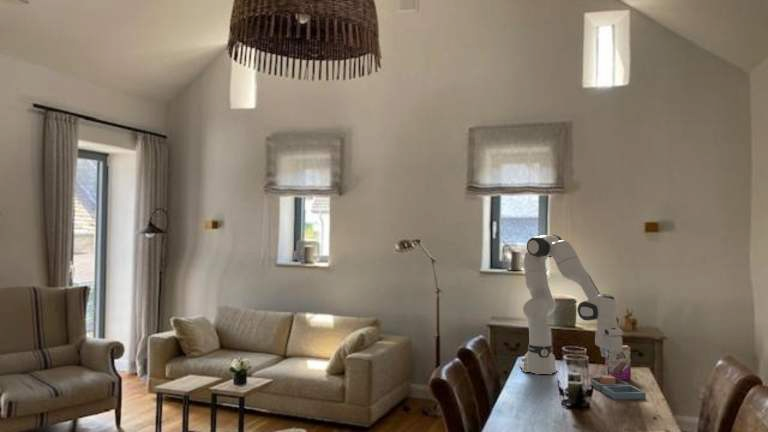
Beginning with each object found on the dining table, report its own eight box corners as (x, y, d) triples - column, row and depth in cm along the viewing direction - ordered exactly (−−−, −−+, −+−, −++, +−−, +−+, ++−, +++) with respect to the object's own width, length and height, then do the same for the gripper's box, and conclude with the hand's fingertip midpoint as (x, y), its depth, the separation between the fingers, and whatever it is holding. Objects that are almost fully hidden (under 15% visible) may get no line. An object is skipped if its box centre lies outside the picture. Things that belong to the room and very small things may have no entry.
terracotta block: (600, 386, 275) (600, 375, 275) (610, 385, 275) (610, 375, 275) (605, 389, 270) (605, 378, 270) (615, 388, 270) (615, 377, 270)
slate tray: (602, 392, 264) (601, 386, 264) (631, 391, 265) (631, 385, 265) (614, 400, 252) (614, 393, 252) (645, 399, 253) (645, 392, 253)
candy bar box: (607, 380, 285) (607, 346, 286) (605, 377, 290) (604, 344, 291) (631, 380, 284) (631, 347, 285) (628, 378, 289) (627, 345, 290)
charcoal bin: (587, 383, 279) (586, 377, 279) (614, 382, 280) (614, 376, 280) (600, 391, 265) (600, 385, 265) (629, 390, 266) (629, 384, 266)
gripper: (591, 326, 283) (592, 354, 283) (611, 332, 263) (612, 363, 262) (603, 325, 284) (604, 353, 283) (624, 332, 263) (625, 362, 263)
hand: (608, 358), depth 273 cm, fingers open, 8 cm apart
